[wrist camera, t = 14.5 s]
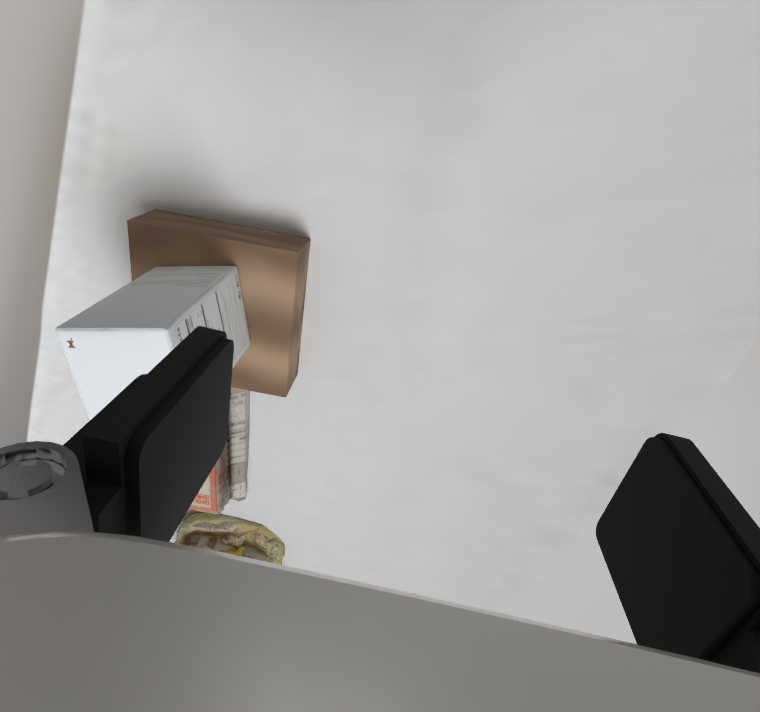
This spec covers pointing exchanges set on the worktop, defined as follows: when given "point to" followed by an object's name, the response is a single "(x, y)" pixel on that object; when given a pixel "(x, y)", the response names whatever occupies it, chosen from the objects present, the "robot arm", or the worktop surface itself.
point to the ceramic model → (231, 537)
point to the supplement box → (149, 327)
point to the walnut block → (257, 281)
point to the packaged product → (229, 460)
